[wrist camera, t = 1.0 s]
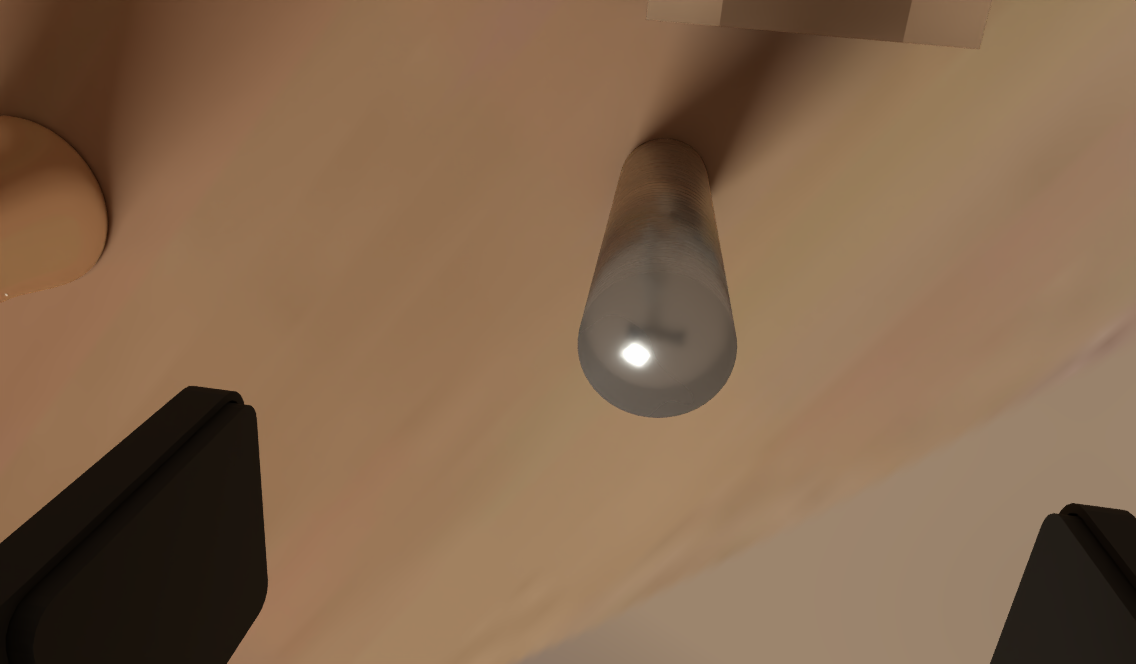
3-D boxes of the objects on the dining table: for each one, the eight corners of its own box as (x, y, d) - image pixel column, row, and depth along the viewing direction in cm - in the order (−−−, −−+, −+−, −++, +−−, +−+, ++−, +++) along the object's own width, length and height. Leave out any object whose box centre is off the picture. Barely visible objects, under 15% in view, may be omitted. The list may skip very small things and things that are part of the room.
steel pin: (624, 134, 26) (584, 263, 14) (714, 142, 26) (748, 282, 14) (615, 220, 27) (571, 407, 16) (701, 230, 27) (724, 426, 15)
